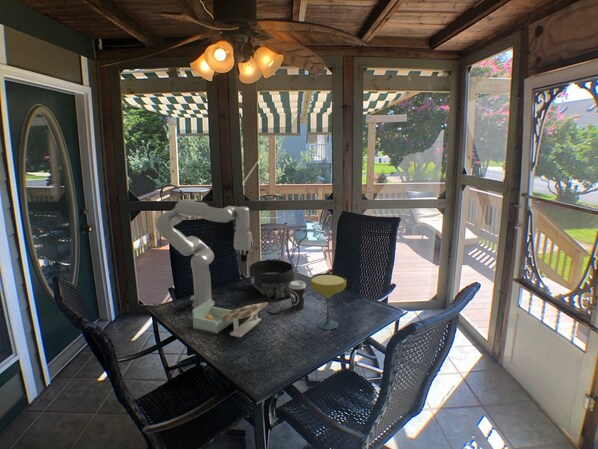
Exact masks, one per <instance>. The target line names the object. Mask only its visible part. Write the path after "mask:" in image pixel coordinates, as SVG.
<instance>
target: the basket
mask: <svg viewBox="0 0 598 449" xmlns="http://www.w3.org/2000/svg"><path fill="white" fill-rule="evenodd" d="M248 271H249V272H248V273H249V279H250V282H251V284H252V286H253V287H254V288H255V289H256V290H257V291H258V292H260V294H261V295H262V296H263V297H266V298H270V299H271V298H274V297H275V300H279V299H280V300H281V299H283V298H284V299H287V297H291V294H290V288H289V285H290V283H291V282H292V281H295V271H294V268H293V264H292V263H290V262H287V261H285V260H279V259H262V260H258V261H256V262H254V263H252V264H251V265H249V267H248Z"/></svg>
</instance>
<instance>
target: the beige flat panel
mask: <svg viewBox="0 0 598 449" xmlns="http://www.w3.org/2000/svg"><path fill="white" fill-rule="evenodd" d="M267 305H269V303H268V301H265V302H261V303H260V302H259V303H255V304H254V305H253V304H249V305H245V306H237V307H236V308H235V309H230V310H231V311H228V312H229V314H227V315H222V322H225V321H230V320H233V318H238V320H240V319H247V318H250V317H253V315H255V314H256V313H257V314H258V313H259V312H260V311H261V310H263V309H264V308H265V307H267Z"/></svg>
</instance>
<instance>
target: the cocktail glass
mask: <svg viewBox="0 0 598 449" xmlns="http://www.w3.org/2000/svg"><path fill="white" fill-rule="evenodd" d="M309 284H310V285H309V286H310V287H311V289H312V290H313V291H315V292H317V293H319V294H321V295H323V296H324V297H325V298H326V299H327V300H326V302H327V307H326V310H327V311H326V312H327V313H326V319H322V320H320V321H318V322H317V324H316V325H317V328H319V329H321V330H324V329H325V331H332V330H331V329H333V330H335V329H334V328H336V329H337V328H338V327H339V323H338V322H337V321H335V320H332V319H330V317H329V314H330V313H329V312H330V310H329V306H330V305H329V303H330V301H329V299H330V298H331V297H332V296H333V295H335V294H336V295H337V294H338V293H341V292H342V291H344V290H345V289H346V287H347V279H346V277H345V276H344V275H341V274H339V273H338V274H337V273H334V272H333V273H331V272H330V273H329V272H323V273H317V274H314V275H312V276H311V277H310V280H309Z"/></svg>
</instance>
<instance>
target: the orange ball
mask: <svg viewBox="0 0 598 449" xmlns="http://www.w3.org/2000/svg"><path fill="white" fill-rule="evenodd" d="M205 319H207V320H213V317H212V315H207V316H206V317H205Z"/></svg>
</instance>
